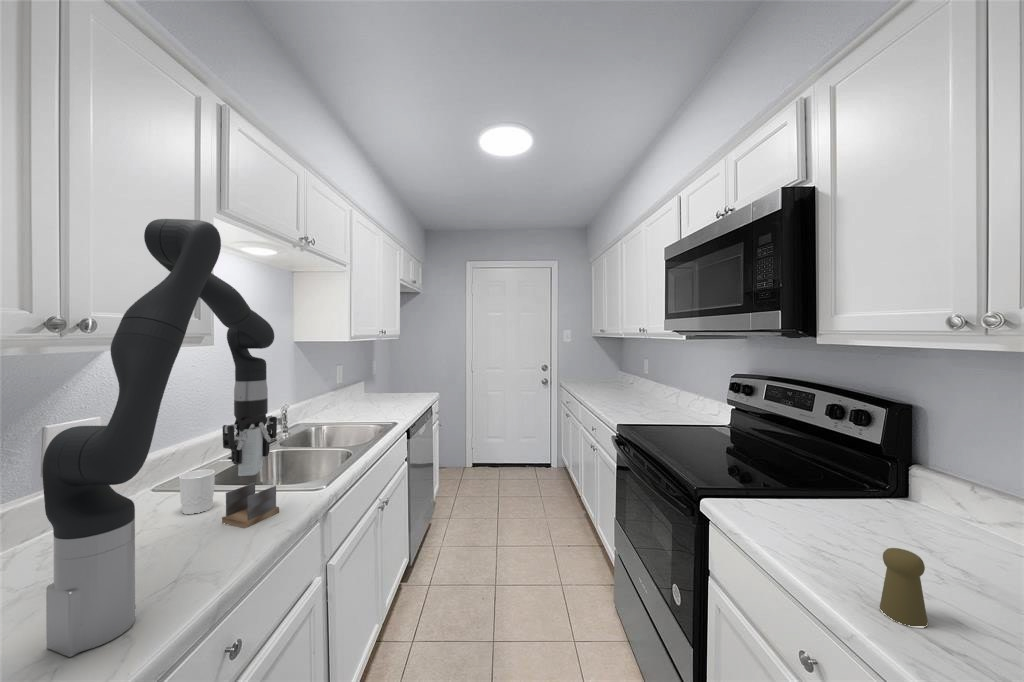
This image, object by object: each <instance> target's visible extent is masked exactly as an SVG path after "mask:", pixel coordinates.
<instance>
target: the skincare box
mask: <svg viewBox="0 0 1024 682" xmlns="http://www.w3.org/2000/svg"><path fill="white" fill-rule="evenodd" d="M246 431H247V441H245V442H244V444H243V446H242V448H241V450H242V463H241V464H239V465H238V467H237V470H238V471H237V475H238V477H245V476H255V475H257V474H258V473H259V472H260V471H261V470H262V469H263V467H264V466H263V465H264V464H263V461H264V460H263V457H264V456H263V437H262V432H261V429H260V427H254V428H252V429H245V430H244V431H243V432H241V431H240V430H239V437H242V436H243V435H244V433H245V432H246Z"/></svg>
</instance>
